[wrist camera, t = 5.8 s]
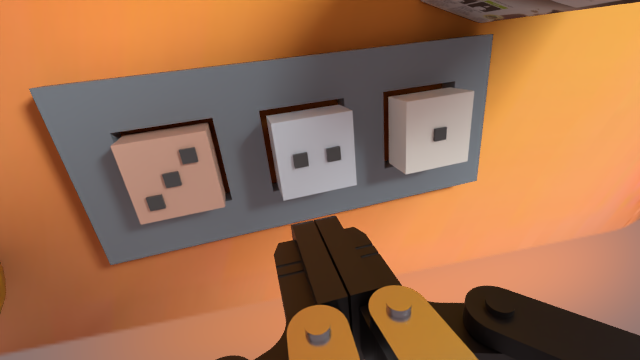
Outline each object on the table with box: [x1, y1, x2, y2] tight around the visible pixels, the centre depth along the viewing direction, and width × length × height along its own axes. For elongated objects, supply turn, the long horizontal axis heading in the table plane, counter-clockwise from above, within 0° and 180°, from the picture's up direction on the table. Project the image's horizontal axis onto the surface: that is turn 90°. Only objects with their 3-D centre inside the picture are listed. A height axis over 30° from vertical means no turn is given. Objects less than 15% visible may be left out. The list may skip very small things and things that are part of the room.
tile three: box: [110, 122, 225, 225], centre depth 20 cm, size 5×5×3 cm
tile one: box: [388, 87, 474, 174], centre depth 23 cm, size 5×5×3 cm
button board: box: [29, 34, 493, 265], centre depth 23 cm, size 30×12×2 cm, turn 96°
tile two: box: [266, 105, 357, 200], centre depth 21 cm, size 5×5×3 cm
